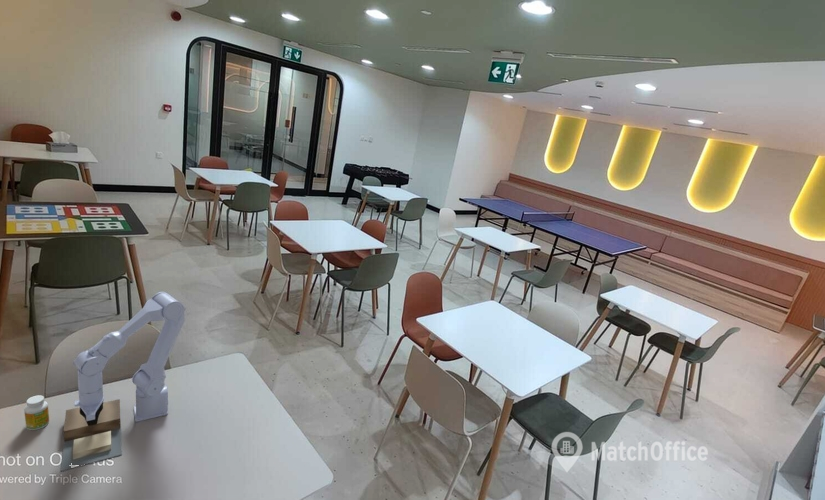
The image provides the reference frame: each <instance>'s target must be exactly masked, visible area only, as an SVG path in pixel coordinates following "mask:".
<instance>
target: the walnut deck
mask: <svg viewBox="0 0 825 500" xmlns="http://www.w3.org/2000/svg"><path fill="white" fill-rule="evenodd" d="M120 402H121V401H120V398H119V399H115V400H110V401H105V402H104V401H103V409H102V411H101V412H100V414H99V417H98V422H97V424H95V425H91V426H88V424H87V422H86V420H85V418H84V417H83V416H82V415H81V414H80V407H79V406H78V407H74V408H70V409H66V410H65V417H64V424H63V440H64V441H63V443H64V442H65V441H69V440H73V439H77V438H82V437H86V436H90V435H94V434H98V433H102V432H107V431H111V430H115V429H119V428H121V427H122V426H121V425H122V424H121V404H120ZM121 429H122V428H121Z"/></svg>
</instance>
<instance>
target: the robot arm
mask: <svg viewBox="0 0 825 500" xmlns="http://www.w3.org/2000/svg"><path fill="white" fill-rule="evenodd" d="M185 311H186V307H185V306H184V304H183V303H182V302H181V301H179V300H177V299H176V298H174V297H173V296H172V295H170V294H169V293H168V292H165V291H159V292H156V293H155V294H153V295H152V297H150V298H149V299H148V300H147V301H146V302H145V304H144V305H143V307H142V308H141V309H140V310H139V311H138V312H137V313H136V314H135V315H134V316H133V317H131V318H130V320H128V321H127V322H126V323H125V324H124V325H123V326H122V327H121V328H120V329H119V330H117V331H111V332H110V333H109V332H108V334H104V335H103V336H102V339H101V340H99V341H98V342H97V343H96V344H94V345H93V346H92V347H90V348H88V349H87V350H83V351H82V352H80V353H79V354H78V355H77V356H76V357H75V359H74V360H73V361H72V364H73V365H74V367H75V368H77V385H78V400H74V401H73V402H74V404H73V406H74V408H77V407H78V408H79V407H80V414H81V415H82V416H83V417H84V418H85V420H86V422H87V424H88V426H91V425H95V424H97V422H98V417H99V414H100V412H101V411H102V409H103V403H104V400H105V397H104V387H103V370H104V369H105V367H106V364H107V363H108V362H109V359H111V358H112V357H113V356H115V354H116V353H118V352H119V351H120V350H121V349H123V348H124V347H126V345H127V340H128V338H130V337H131V336H133V334H135V333H136V332H138V331H139V330H141V329H142V328H143V327H144V326H146V325H147V324H148V323H150V322H160V321H161V322H162V321H164V323H163V326H162V327H161V330H160V332H159V335H158V337H157V339H156V341H155V344H154V346H153V348H152V350H151V352H150V354H149V356H148V360H147V362H146V363H143V364H141V365H140V366H139V369H138V370H137V371H136V372H135V373H134V374H133V376H132V378H131V380H132V383H133V385H135V386H136V387H135V405H134V406H133V411H134V412H133V414H134V421H135V422H136V423H137V422H141V421H145V420H151V419H155V418H158V417H162V416H167V415H168V413H169V410H168V409H169V408H168V407H169V391H168V387H167V385H165V380H166V377H167V374H166V370H165V366H166V364H167V362H168V359H169V356H170V355H171V352H172V350H173V347H174V346H175V344H176V341H177V339H178V337H179V334H180V332H181V330H182V328H183V325H184V323H185V320H186V319H185V318H186V317H185V316H186V315H185Z"/></svg>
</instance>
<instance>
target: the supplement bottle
mask: <svg viewBox="0 0 825 500" xmlns="http://www.w3.org/2000/svg"><path fill="white" fill-rule="evenodd" d="M23 410H24V421H25V427H26V428H25V429H27V430H29V431H36V430H41V429H43V428H45V427H46V426H48V424H49V423H50V414H49V404H48V402H47V401H46V400H45V396H43V395H41V394H40V395H39V394H38V395H34V396H30V397H29V398H28V399H27V400H26V405H25V406H24V409H23Z"/></svg>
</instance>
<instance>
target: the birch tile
mask: <svg viewBox="0 0 825 500" xmlns="http://www.w3.org/2000/svg"><path fill="white" fill-rule="evenodd" d="M107 450H111V431H108V432H104V433H100V434H96V435H92V436H88V437H84V438H79V439H75V440H74V445H73V459H77V458H81V457H84V456H88V455H92V454H96V453H99V452H103V451H107Z"/></svg>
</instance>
